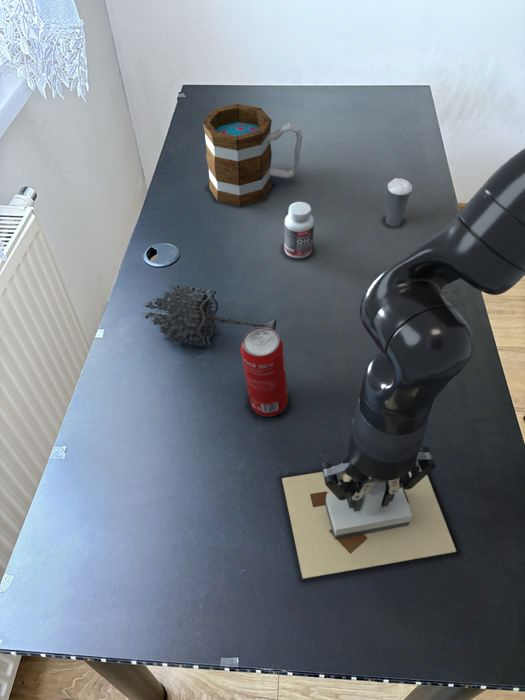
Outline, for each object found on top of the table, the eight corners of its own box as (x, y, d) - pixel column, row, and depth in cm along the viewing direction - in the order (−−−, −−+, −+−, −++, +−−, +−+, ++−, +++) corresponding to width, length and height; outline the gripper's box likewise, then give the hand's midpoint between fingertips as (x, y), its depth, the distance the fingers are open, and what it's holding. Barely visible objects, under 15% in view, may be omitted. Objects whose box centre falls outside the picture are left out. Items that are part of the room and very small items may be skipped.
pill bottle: (299, 263, 112) (301, 221, 104) (278, 250, 114) (278, 208, 107) (318, 249, 114) (321, 207, 107) (296, 237, 117) (298, 195, 109)
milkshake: (375, 216, 120) (381, 173, 113) (400, 212, 121) (408, 169, 113) (382, 230, 117) (389, 187, 110) (408, 226, 118) (417, 183, 110)
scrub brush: (396, 491, 81) (406, 459, 75) (408, 525, 78) (420, 495, 72) (325, 504, 80) (329, 473, 74) (334, 539, 77) (339, 510, 71)
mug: (207, 207, 123) (200, 140, 112) (210, 169, 132) (203, 104, 121) (302, 204, 123) (305, 138, 112) (298, 167, 132) (300, 102, 120)
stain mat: (419, 456, 85) (420, 456, 85) (456, 552, 76) (456, 551, 76) (281, 478, 83) (282, 478, 83) (302, 579, 74) (302, 578, 74)
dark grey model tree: (269, 367, 96) (268, 328, 89) (139, 349, 99) (128, 310, 92) (279, 325, 102) (279, 285, 95) (156, 309, 105) (147, 269, 98)
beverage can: (294, 408, 91) (296, 344, 79) (257, 426, 89) (254, 363, 77) (274, 381, 94) (274, 316, 83) (238, 398, 92) (232, 334, 81)
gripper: (331, 471, 61) (322, 539, 74) (463, 450, 62) (431, 520, 75) (315, 411, 65) (309, 484, 79) (438, 392, 67) (411, 468, 80)
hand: (368, 501), depth 77 cm, fingers closed on scrub brush, 3 cm apart
